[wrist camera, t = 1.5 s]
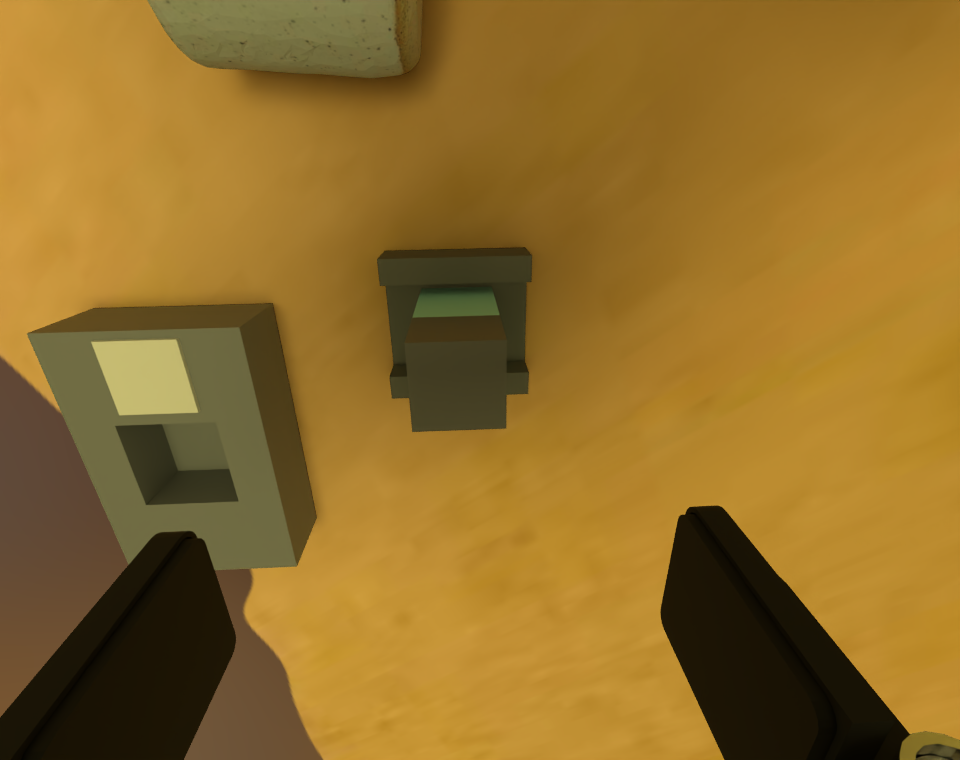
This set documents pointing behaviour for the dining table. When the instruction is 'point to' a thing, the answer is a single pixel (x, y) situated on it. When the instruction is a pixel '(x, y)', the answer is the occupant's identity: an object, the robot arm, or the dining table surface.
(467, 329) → the plug
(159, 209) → the dining table surface
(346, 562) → the dining table surface
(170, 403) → the port panel
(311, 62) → the ceramic mug
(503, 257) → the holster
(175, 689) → the robot arm
